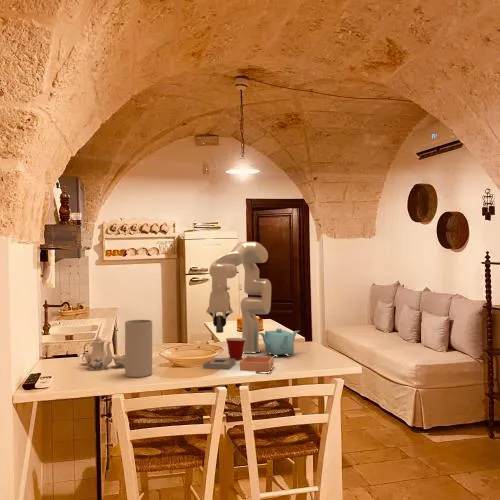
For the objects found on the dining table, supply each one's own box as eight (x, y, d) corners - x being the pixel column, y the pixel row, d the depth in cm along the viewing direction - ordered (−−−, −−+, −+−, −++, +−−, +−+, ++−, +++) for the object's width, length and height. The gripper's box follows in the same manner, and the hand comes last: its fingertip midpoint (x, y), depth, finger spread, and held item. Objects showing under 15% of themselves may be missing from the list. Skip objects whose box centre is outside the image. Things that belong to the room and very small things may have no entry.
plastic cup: (249, 359, 260) (249, 337, 260) (240, 363, 250) (240, 340, 251) (231, 357, 265) (231, 335, 265) (222, 361, 255) (222, 338, 255)
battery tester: (210, 364, 248) (210, 356, 249) (235, 365, 246) (235, 357, 246) (203, 370, 236) (203, 361, 236) (229, 371, 233) (229, 362, 233)
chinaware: (134, 368, 248) (136, 335, 250) (118, 372, 232) (119, 337, 234) (86, 365, 255) (88, 333, 257) (67, 369, 239) (69, 335, 241)
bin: (246, 365, 245) (246, 355, 245) (273, 367, 242) (273, 357, 242) (240, 372, 232) (240, 361, 232) (269, 373, 229) (268, 363, 229)
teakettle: (271, 350, 284) (271, 325, 284) (301, 353, 276) (300, 327, 276) (257, 356, 267) (256, 330, 268) (288, 359, 259) (288, 332, 259)
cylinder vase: (135, 370, 236) (135, 319, 236) (157, 372, 232) (157, 320, 232) (119, 376, 225) (119, 322, 225) (142, 379, 220) (142, 323, 220)
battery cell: (217, 331, 243) (217, 314, 243) (224, 331, 242) (224, 314, 243) (215, 332, 240) (215, 315, 240) (222, 332, 239) (222, 315, 239)
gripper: (237, 288, 243) (237, 325, 243) (205, 288, 247) (205, 324, 246) (233, 289, 236) (234, 327, 236) (201, 289, 239) (201, 326, 239)
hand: (219, 325), depth 241 cm, fingers closed on battery cell, 3 cm apart
